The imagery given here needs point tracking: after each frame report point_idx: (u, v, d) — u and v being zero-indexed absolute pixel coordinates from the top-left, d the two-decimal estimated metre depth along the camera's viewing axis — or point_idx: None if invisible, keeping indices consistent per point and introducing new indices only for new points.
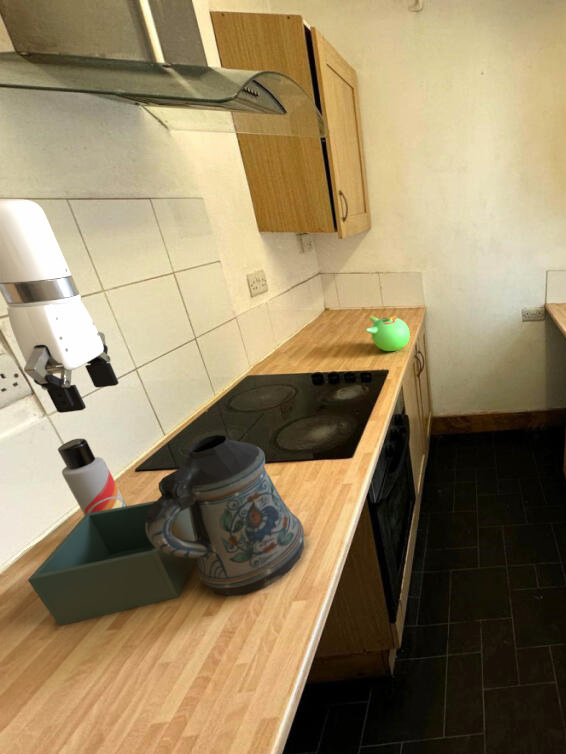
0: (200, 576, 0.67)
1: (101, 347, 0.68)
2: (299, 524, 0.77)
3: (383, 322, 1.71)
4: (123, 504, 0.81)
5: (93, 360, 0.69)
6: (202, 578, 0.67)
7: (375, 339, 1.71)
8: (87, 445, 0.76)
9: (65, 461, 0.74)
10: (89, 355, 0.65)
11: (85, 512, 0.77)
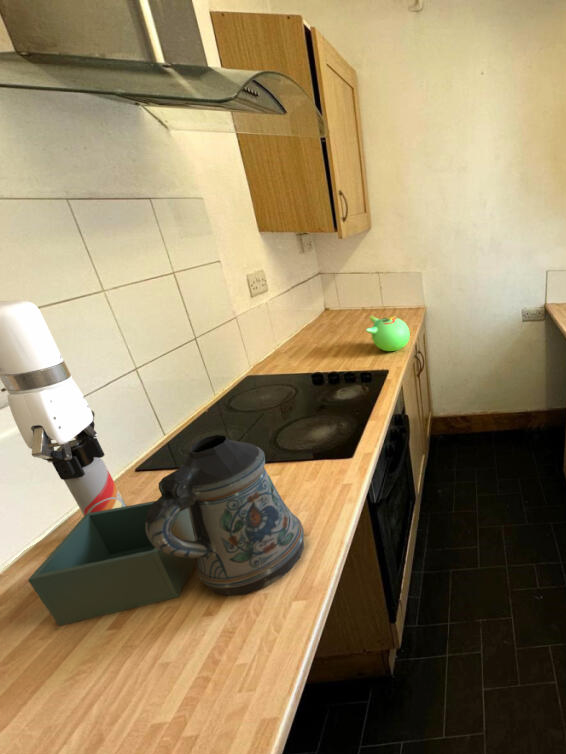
0: (200, 576, 0.67)
1: (91, 417, 0.77)
2: (299, 524, 0.77)
3: (383, 322, 1.71)
4: (123, 504, 0.81)
5: (81, 435, 0.77)
6: (202, 578, 0.67)
7: (375, 339, 1.71)
8: (86, 446, 0.75)
9: None
10: (80, 427, 0.74)
11: (85, 513, 0.77)
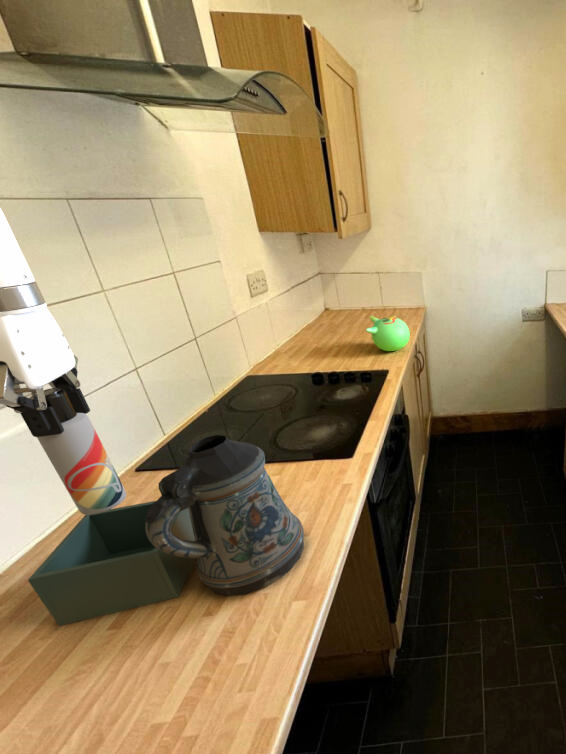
0: (200, 576, 0.67)
1: (72, 361, 0.61)
2: (299, 524, 0.77)
3: (383, 322, 1.71)
4: (113, 473, 0.65)
5: (60, 384, 0.61)
6: (202, 578, 0.67)
7: (375, 339, 1.71)
8: (66, 396, 0.59)
9: None
10: (58, 371, 0.58)
11: (65, 481, 0.61)
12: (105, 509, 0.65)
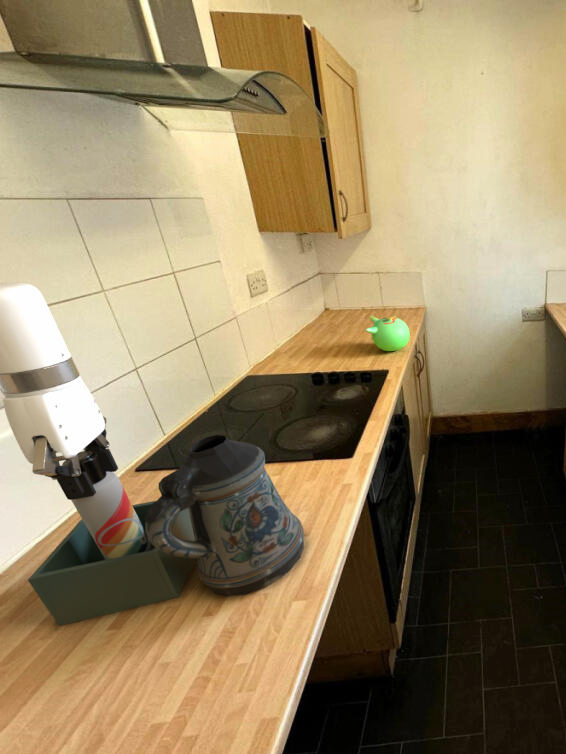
0: (200, 576, 0.67)
1: (103, 424, 0.65)
2: (299, 524, 0.77)
3: (383, 322, 1.71)
4: (139, 526, 0.69)
5: (90, 446, 0.65)
6: (202, 578, 0.67)
7: (375, 339, 1.71)
8: (97, 459, 0.63)
9: None
10: (90, 436, 0.62)
11: (95, 537, 0.65)
12: None
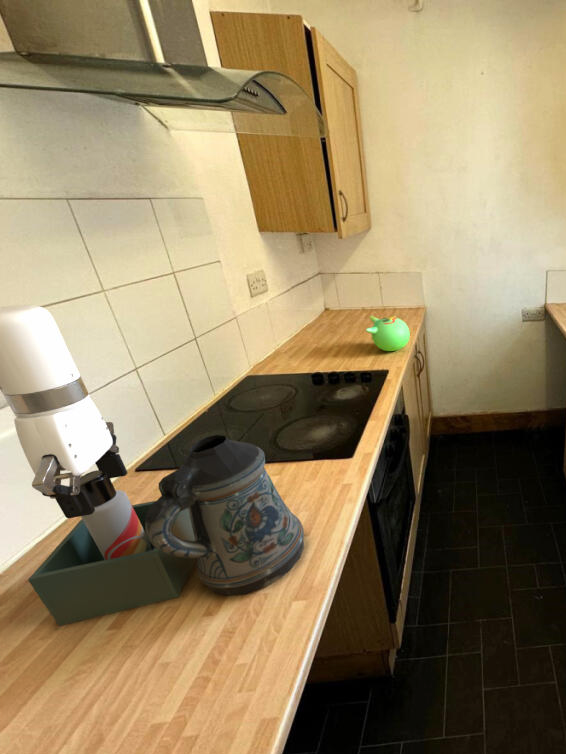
0: (200, 576, 0.67)
1: (110, 441, 0.66)
2: (299, 524, 0.77)
3: (383, 322, 1.71)
4: (147, 543, 0.71)
5: None
6: (202, 578, 0.67)
7: (375, 339, 1.71)
8: (108, 478, 0.65)
9: None
10: (98, 453, 0.63)
11: (105, 555, 0.67)
12: None
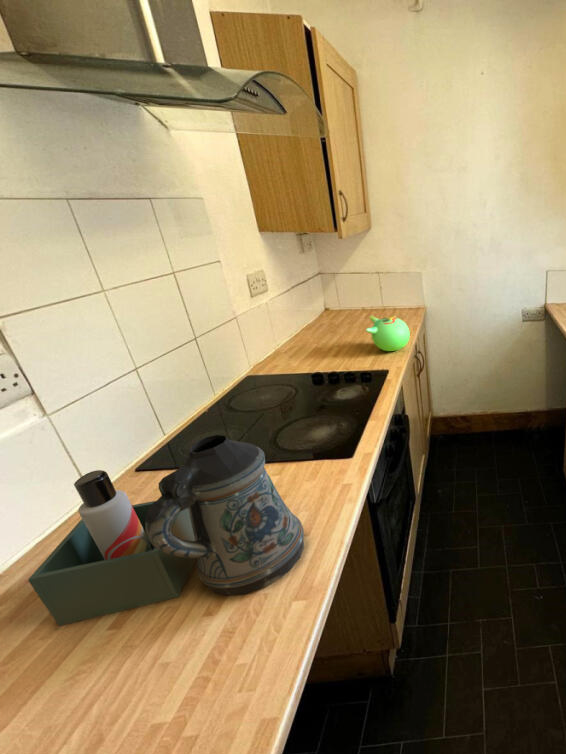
0: (200, 576, 0.67)
1: None
2: (299, 524, 0.77)
3: (383, 322, 1.71)
4: (147, 543, 0.71)
5: None
6: (202, 578, 0.67)
7: (375, 339, 1.71)
8: (108, 478, 0.65)
9: (82, 498, 0.63)
10: None
11: (105, 555, 0.67)
12: None
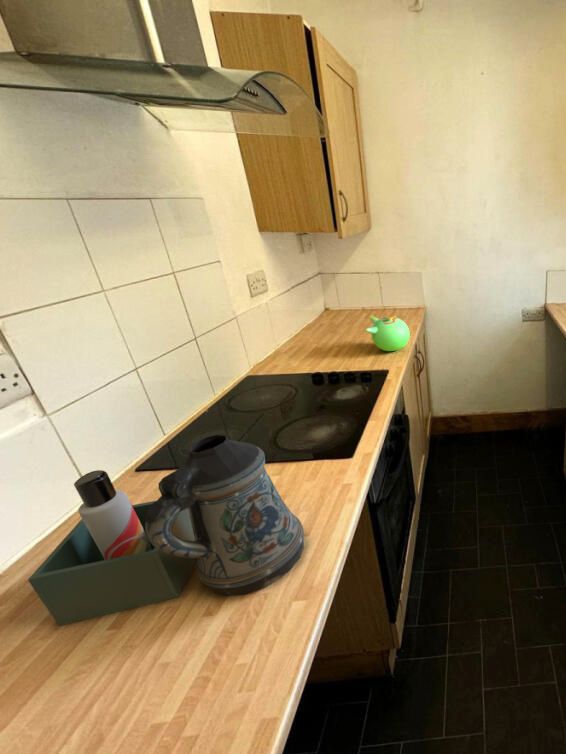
0: (200, 576, 0.67)
1: None
2: (299, 524, 0.77)
3: (383, 322, 1.71)
4: (147, 543, 0.71)
5: None
6: (202, 578, 0.67)
7: (375, 339, 1.71)
8: (108, 478, 0.65)
9: (82, 498, 0.63)
10: None
11: (105, 555, 0.67)
12: None
